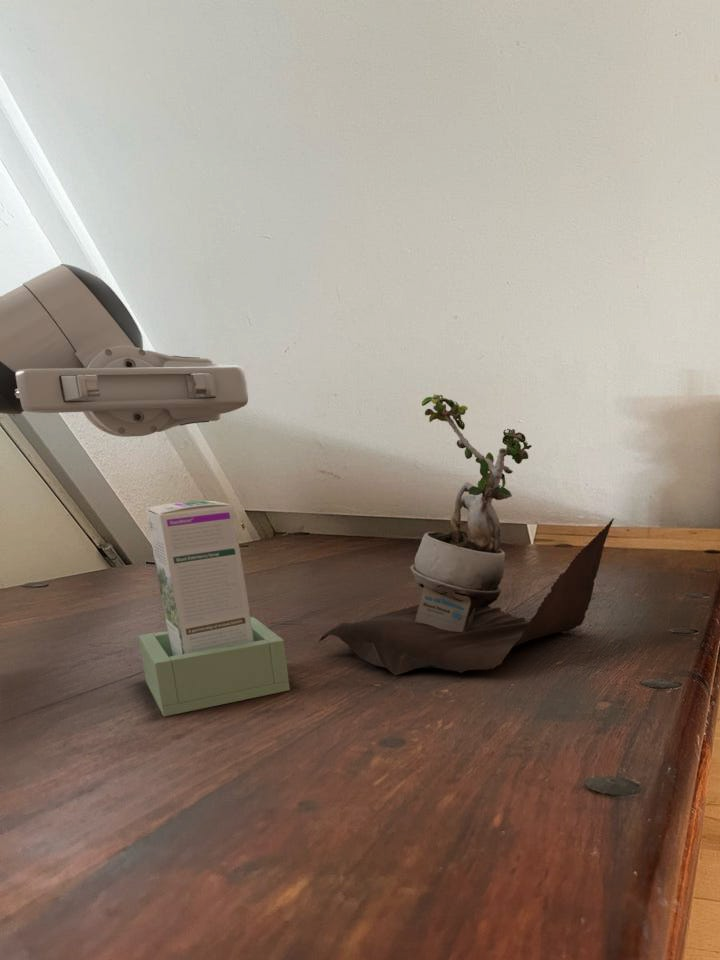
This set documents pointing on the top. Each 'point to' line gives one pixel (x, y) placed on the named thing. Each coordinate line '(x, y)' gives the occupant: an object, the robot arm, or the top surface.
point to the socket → (214, 671)
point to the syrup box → (200, 575)
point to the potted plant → (470, 582)
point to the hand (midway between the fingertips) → (147, 384)
